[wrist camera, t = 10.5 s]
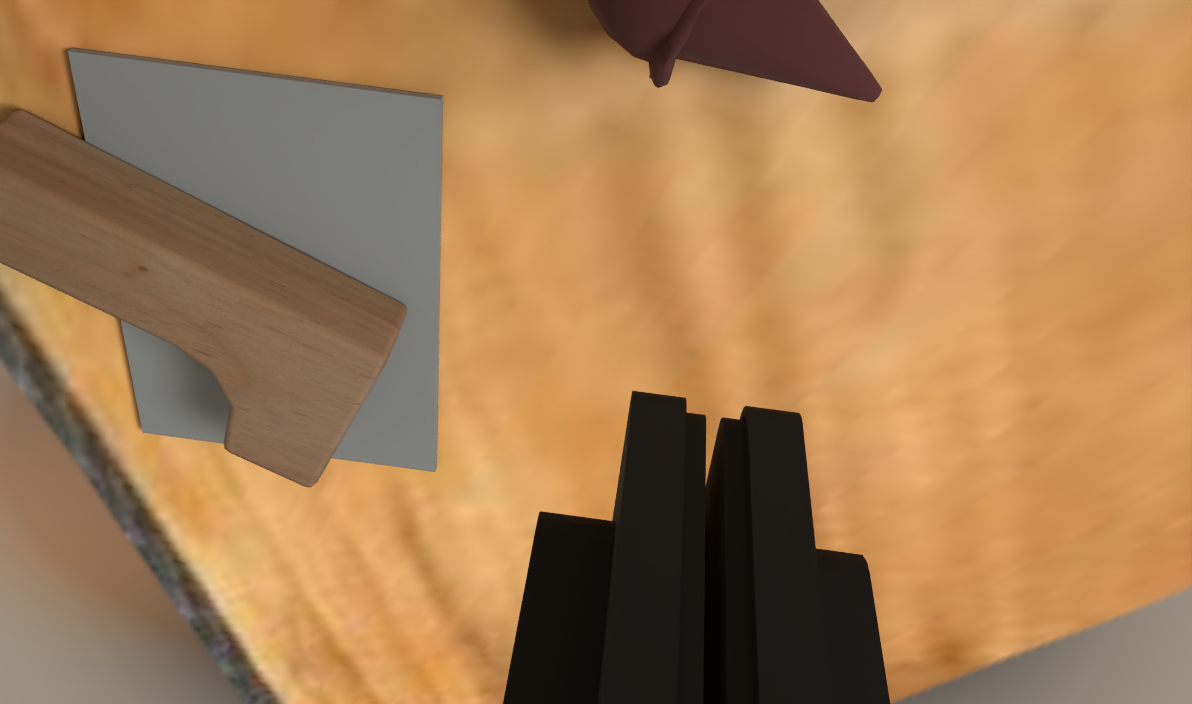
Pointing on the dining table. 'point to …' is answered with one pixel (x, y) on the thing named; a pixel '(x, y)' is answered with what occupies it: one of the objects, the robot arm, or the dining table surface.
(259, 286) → the wooden block
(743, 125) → the dining table surface
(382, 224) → the mat
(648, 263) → the dining table surface
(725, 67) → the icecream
